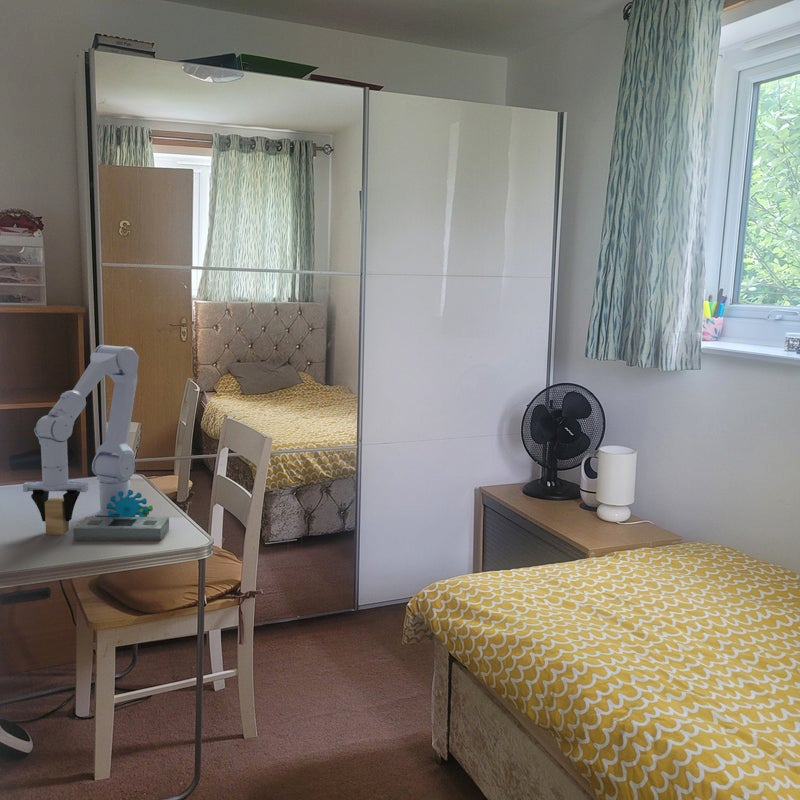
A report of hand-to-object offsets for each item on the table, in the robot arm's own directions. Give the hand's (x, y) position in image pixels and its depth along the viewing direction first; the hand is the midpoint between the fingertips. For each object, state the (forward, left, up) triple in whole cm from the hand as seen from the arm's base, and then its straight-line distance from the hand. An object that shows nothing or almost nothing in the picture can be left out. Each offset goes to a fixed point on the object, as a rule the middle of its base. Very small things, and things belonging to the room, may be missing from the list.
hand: (57, 520), depth 185 cm
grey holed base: (+2, +16, -3) cm, 16 cm away
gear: (-8, +15, -3) cm, 17 cm away
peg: (0, 0, -3) cm, 3 cm away
